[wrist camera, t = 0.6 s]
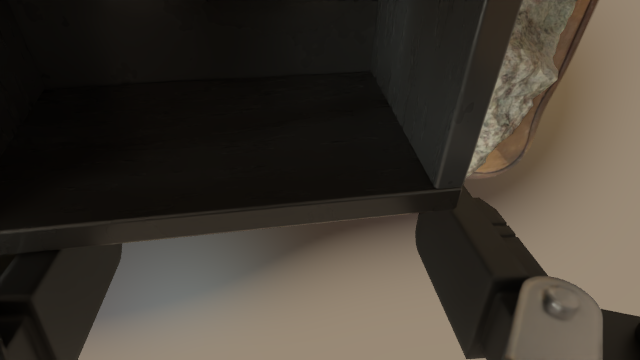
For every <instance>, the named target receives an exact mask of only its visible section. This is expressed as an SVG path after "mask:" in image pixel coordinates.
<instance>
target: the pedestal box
mask: <svg viewBox="0 0 640 360" xmlns="http://www.w3.org/2000/svg"><path fill="white" fill-rule="evenodd" d="M522 2H523V0H0V256H2V255H12V254H22V253H31V252H41V251H51V250H61V249H71V248H80V247H90V246H100V245H110V244H120V243H128V242H139V241H149V240H159V239H168V238H178V237H188V236H198V235H207V234H218V233H227V232H237V231H247V230H257V229H267V228H275V227H286V226H295V225H305V224H316V223H324V222H335V221H344V220H354V219H363V218H364V219H365V218H374V217H384V216H394V215H404V214H413V213H423V212H433V211H443V210H453V209H456V207H457V205H458V201H459V198H460V195H461V192H462V186H463V185H464V182H465V179H466V176H467V173H468V170H469V167H470V164H471V161H472V157H473V154H474V151H475V148H476V145H477V142H478V139H479V136H480V133H481V129H482V126H483V123H484V120H485V117H486V114H487V111H488V108H489V105H490V101H491V98H492V95H493V92H494V89H495V86H496V83H497V80H498V76H499V73H500V70H501V67H502V64H503V61H504V58H505V55H506V52H507V48H508V45H509V42H510V39H511V36H512V33H513V30H514V27H515V24H516V20H517V17H518V14H519V11H520V8H521V5H522Z"/></svg>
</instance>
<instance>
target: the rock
mask: <svg viewBox="0 0 640 360" xmlns="http://www.w3.org/2000/svg"><path fill="white" fill-rule="evenodd" d="M576 1H577V0H523V2H522V5H521V8H520V11H519V14H518V17H517V20H516V24H515V27H514V30H513V33H512V36H511V39H510V42H509V45H508V48H507V52H506V55H505V58H504V61H503V64H502V67H501V70H500V73H499V76H498V80H497V83H496V86H495V89H494V92H493V95H492V98H491V101H490V105H489V108H488V111H487V114H486V117H485V120H484V123H483V126H482V129H481V133H480V136H479V139H478V142H477V145H476V148H475V151H474V154H473V157H472V161H471V164H470V167H469V170H468V173H467V176H466V177H468V176H469V175H471V174H472V173H473V172H474V171H476V170H477V169H478V168H479V167H480V166H481V165H483V164H484V163H485V162H486V157H487V156H488V154H489V153H490V152H491V151H493V150H494V149H495V147H496V146H497V145H498V144H499V143H500V142H502V141H503V140H504V139H506V138H507V137H509V136H510V135H511V134H513V132H514V130H515V128H516V127H517V126H519V124H520V122H521V121H522V119H523V118H524V116H525V115H526V114H527V112H528V111H529V110H530V109H531V107H532V106H533V101H532V99H533V98H535V97H536V96H537V95H539V94H540V93H541V92H543V91H544V90H545V89H547V88H548V87H549V86H551V85H552V84H553V83H554V82H555V81H556V80H557V79H558V72H559V71H558V70H557V68H556V67H555V66H554V62H553V56H554V54H555V53H556V47H557V44H558V42H559V35H560V33H561V32H562V31H563V30H564V29H565V26H566V23H567V20H568V18H569V17H570V16H571V14H572V12H573V10H574V8H575V2H576Z"/></svg>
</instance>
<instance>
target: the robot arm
mask: <svg viewBox="0 0 640 360" xmlns="http://www.w3.org/2000/svg"><path fill="white" fill-rule="evenodd" d="M416 246H417V250H418V252H419V255H420V257H421V259H422V262H423V264H424V266H425V268H426V271H427V273H428V275H429V277H430V279H431V282H432V284H433V286H434V288H435V291H436V293H437V295H438V297H439V299H440V302H441V304H442V306H443V308H444V311H445V313H446V315H447V317H448V319H449V322H450V324H451V326H452V328H453V331H454V333H455V335H456V337H457V339H458V342H459V344H460V346H461V348H462V350H463V353H464V355H465V357H466V359H475V358H486V359H487V360H640V317H639V316H633V315H628V314H623V313H618V312H613V311H608V310H603V309H600V308H599V306H598V304H597V303H596V302H595V300H594V299H593V298H592V297H591V296H590V295H589V294H587V293H586V292H585V291H583V290H582V289H581V288H579V287H577V286H576V285H574V284H571V283H570V282H567V281H565V280H561V279H558V278H554V277H549V276H548V275H547V274H546V273H545V271H544V270H543V269H542V268H541V266H540V265H539V264H538V262H537V261H536V260H535V259H534V257H533V256H532V255H531V254H530V252H529V251H528V250H527V248H526V247H525V246H524V245H523V243H522V242H521V241H520V239H519V238H518V237H515V233H514V232H513V231H512V230H511V228H510V227H509V226H507V225H506V222H505V220H504V219H503V218H502V216H501V215H500V214H499V213H498V211H497V210H496V209H495V208H493V207H492V206H490V205H489V204H487V203H486V202H485V201H483V200H481V199H480V198H473V197H472V196H471V195H470V193H469V192H468V191H467V189H466V188H465V187H464V185H463V186H462V192H461V195H460V198H459V201H458V205H457V207H456V209H453V210H443V211H433V212H423V213H419V215H418V220H417V225H416ZM121 252H122V243H120V244H110V245H100V246H90V247H80V248H71V249H61V250H51V251H41V252H31V253H22V254H12V255H2V256H0V360H78V358H79V355H80V353H81V351H82V348H83V346H84V344H85V341H86V339H87V337H88V334H89V332H90V330H91V327H92V325H93V322H94V320H95V318H96V316H97V313H98V311H99V309H100V306H101V304H102V302H103V299H104V297H105V295H106V292H107V290H108V288H109V285H110V283H111V281H112V279H113V276H114V274H115V271H116V269H117V267H118V265H119V262H120V259H121Z"/></svg>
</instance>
